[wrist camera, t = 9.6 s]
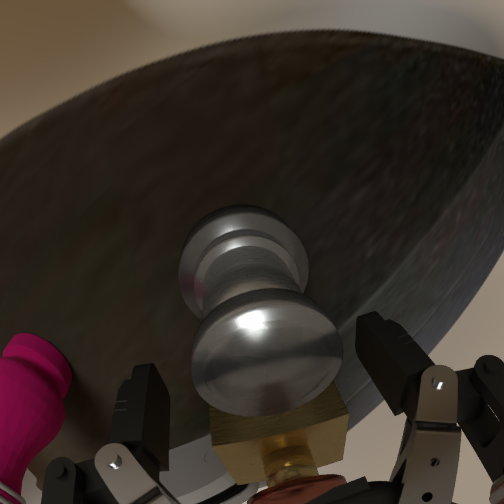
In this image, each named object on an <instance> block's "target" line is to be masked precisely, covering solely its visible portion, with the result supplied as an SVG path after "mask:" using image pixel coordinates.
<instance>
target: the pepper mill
mask: <svg viewBox="0 0 504 504" xmlns="http://www.w3.org/2000/svg"><path fill="white" fill-rule="evenodd" d="M71 380H72V371H71V369H70V366H69V363H68V362H67V360H66V359H65V357H64V356H63V355H62V354H61V353H60V352H59V350H58V349H57V348H56V347H54V346H53V345H52V344H50V343H49V342H48V341H46V340H44V339H43V338H41V337H39V336H36V335H33V334H29V333H20V334H17V335H15V336H13V337H12V339H11V340H10V342H9V343H8V345H7V346H6V348H5V349H4V352H3V357H0V504H26V501H25V500H24V499H23V498H22V497H21V487H22V480H23V477H24V474H25V471H26V469H27V467H28V465H29V464H30V462H31V460H32V459H33V458H34V457H35V456H36V455H37V454H38V453H39V452H40V451H41V450H42V449H44V448H45V447H46V446H47V445H48V444H49V443H50V442H51V441H52V440H53V439H54V438H55V436H56V435H57V434H58V432H59V431H60V429H61V426H62V424H63V422H64V419H65V407H64V403H63V400H62V399H63V398H64V397H65V396H66V394H67V392H68V389H69V386H70V383H71Z"/></svg>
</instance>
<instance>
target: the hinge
mask: <svg viewBox="0 0 504 504" xmlns="http://www.w3.org/2000/svg"><path fill="white" fill-rule="evenodd" d="M159 480H160V481H161V482H162V484H163V485H164V486H165V487H166V488H167V489H168V490H169V491H170V492H171V493H172V494H173V495H174V496H175V497H176V498H177V499H178V500H179V501H180V503H181V504H242V503H243V502H245V501H247V500H248V499H249V498H250V497H251V496H253V495H254V494H256V492H257V491H258V487H259V482H254V483H248V484H242V485H237V483H236V482H235V481H234V479H233V478H232V476H231V475H230V473H229V472H228V470H227V469H226V468H225V466H224V465H223V463H222V462H221V460H220V458H219V457H218V455H217V454H216V452H215V451H214V449H213V448H212V442H211V434H210V435H207V436H205V437H203V438H200V439H198V440H195V441H193V442H190V443H187V444H185V445H182V446H180V447H177V448H174V449H171V450H169V471H161V472H160V474H159Z"/></svg>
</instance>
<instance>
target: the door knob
mask: <svg viewBox="0 0 504 504" xmlns="http://www.w3.org/2000/svg"><path fill="white" fill-rule="evenodd" d="M298 285H299V275H298V270H297V267H296V264H295V262H294V261H293V259H292V257H291V256H290V254H289V252H288V251H287V249H286V248H285V247H284V245H283V244H282V243H281V242H280V241H279V240H278V239H276V238H275V237H273V236H272V235H270V234H268V233H265V232H263V231H259V230H253V229H240V230H234V231H230V232H227V233H225V234H223V235H221V236H219V237H217V238H216V239H214V240H213V241H212V242H210V243H209V244H208V245H207V246H206V247H205V249H204V250H203V251H202V253H201V255H200V256H199V258H198V261H197V264H196V268H195V278H194V293H195V297H196V300H197V303H198V305H199V307H200V308H201V310H202V321H201V322H200V324H199V326H198V327H197V329H196V332H195V334H194V337H193V341H192V361H191V375H192V381H193V384H194V387H195V389H196V390H197V392H198V393H199V395H200V396H201V397H202V398H203V399H204V400H205V401H206V402H207V403H209V404H210V405H212V406H213V407H215V408H217V409H219V410H221V411H224V412H227V413H230V414H234V415H240V416H250V417H259V416H269V415H275V414H280V413H283V412H287V411H290V410H292V409H295V408H297V407H299V406H301V405H304V404H305V403H307V402H309V401H310V400H312V399H313V398H315V397H316V396H318V395H319V394H320V393H321V392H322V391H324V390H325V389H326V388H327V386H328V385H329V384H330V383H331V382H332V381H333V379H334V378H335V376H336V375H337V373H338V371H339V369H340V366H341V363H342V360H343V344H342V340H341V337H340V335H339V333H338V331H337V330H336V328H335V326H334V325H333V323H332V322H331V320H330V318H329V317H328V315H327V313H326V312H325V310H324V309H323V308H322V307H321V306H320V305H319V304H318V303H317V302H316V301H315V300H313V299H312V298H310V297H309V296H307V295H304V294H303V293H302V292H301V290H300V288H299V286H298Z"/></svg>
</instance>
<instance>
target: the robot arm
mask: <svg viewBox="0 0 504 504" xmlns="http://www.w3.org/2000/svg"><path fill="white" fill-rule="evenodd" d="M355 348H356V353H357V356H358V358H359V360H360V361H361V363H362V364H363V366H364V368H365V369H366V371H367V372H368V374H369V375H370V377H371V379H372V380H373V382H374V383H375V385H376V387H377V388H378V390H379V391H380V393H381V394H382V396H383V398H384V399H385V401H386V402H387V404H388V406H389V407H390V409H391V410H392V412H393V414H394V415H395V416H396V415H399V414H401V413H403V412H404V413H405V414H406V416H407V419H406V422H405V427H404V432H403V436H402V441H401V446H400V450H399V453H398V457H397V461H396V464H395V466H394V469H393V471H392V474H391V477H390V480H389V482H388V481H372V482H367V480H366V477H365V476H364V477H361V478H359V479H356V480H354V481H351V482H349V483H345V484H342V485H340V486H337V487H334V488H332V489H330V490H329V491H327V492H325V493H323V494H322V495H320V496H318V497H316V498H314V499H312V500H311V501H309V502H307V503H304V504H456V503H453V502H452V497H453V492H454V487H455V481H456V475H457V468H458V461H459V452H460V443H461V429H462V431H463V432H464V434H465V436H466V437H467V439H468V440H469V442H470V444H471V445H472V447H473V449H474V450H475V452H476V454H477V455H478V457H479V459H480V460H481V462H482V464H483V466H484V468H485V469H486V471H487V473H488V475H489V476H490V478H491V480H492V482H493V485H492V487H491V492H490V498H489V501H490V503H491V504H504V362H503V361H502V360H501V359H499V358H498V357H496V356H493V355H484V356H482V357H480V358H479V359H478V360H477V361H476V363H475V366H474V368H470V369H465V370H460V371H453V370H452V369H451V368H449V367H447V366H444V365H435V364H434V362H433V361H432V360H431V359H430V358H429V357H428V355H427V354H426V353H425V352H424V351H423V350H422V349H421V347H420V346H419V345H418V344H417V343H416V342H415V341H413V338H412V337H411V336H410V335H408V333H407V332H406V331H405V329H404V328H403V327H402V326H401V325H400V324H398V323H396V322H394V321H392V320H390V319H389V320H386V321H385V320H384V319H383V318H382V317H381V316H380V315H379V313H378V312H376V311H373V312H370V313H367V314H364V315H361V316H358V317H357V321H356V340H355ZM116 402H117V403H116V404H115V411H114V414H113V419H112V424H111V430H110V436H109V442H108V445H105V446H103V447H102V448H101V449H100V450H99V451H98V452H97V454H96V456H95V458H94V459H91V460H87V461H84V462H80V463H76V464H75V463H74V462H72V461H71V460H70V459H68V458H66V457H59V458H56V459H54V460H52V461H51V462H50V463H49V465H48V467H47V469H46V474H45V480H44V486H43V492H42V500H41V504H181V503H180V501H179V500H178V499H177V498H176V497H175V496H174V495H173V494H172V493H171V492H170V491H169V490H168V489H167V488H166V487H165V486H164V485H163V484H162V482H161V481H160V480H159V474H160V472H161V471H169V426H170V396H169V392H168V390H167V387H166V386H165V384H164V382H163V380H162V378H161V376H160V374H159V372H158V370H157V368H156V366H155V365H154V364H153V363H150V364H143V365H136V366H134V368H133V372H132V377H131V379H129V380H125V381H124V382H123V384H122V385H121V387H120V388H119V390H118V394H117V399H116ZM488 405H489V406H488ZM490 408H491V409H492V410H493V412H494V413H495V414H494V413H493V412H492V410H491V409H490ZM495 415H496V416H497V417H496V416H495ZM497 418H498V419H499V420H498V419H497ZM456 423H458V424H459V426H460V427H459V426H457V424H456Z"/></svg>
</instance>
